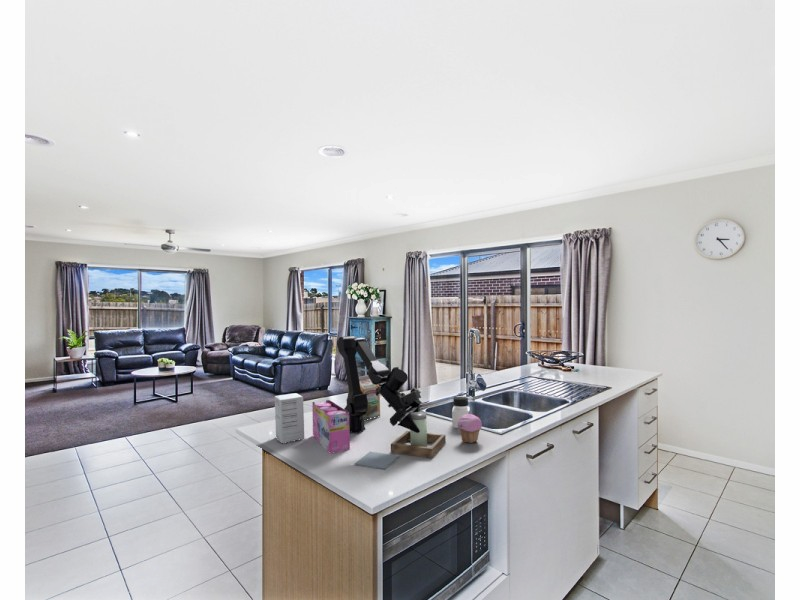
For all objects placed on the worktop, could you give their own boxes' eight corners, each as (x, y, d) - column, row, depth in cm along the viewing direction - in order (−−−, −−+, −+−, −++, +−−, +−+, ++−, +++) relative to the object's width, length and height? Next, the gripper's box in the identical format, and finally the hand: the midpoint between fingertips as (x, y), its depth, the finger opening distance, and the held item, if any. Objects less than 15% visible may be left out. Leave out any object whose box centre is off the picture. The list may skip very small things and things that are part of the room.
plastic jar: (408, 449, 142) (407, 415, 143) (414, 443, 148) (413, 411, 148) (424, 451, 140) (423, 417, 140) (429, 445, 146) (428, 412, 146)
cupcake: (468, 436, 155) (467, 410, 155) (487, 441, 149) (486, 414, 149) (453, 441, 149) (452, 415, 149) (472, 447, 143) (471, 419, 143)
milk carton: (366, 412, 193) (365, 373, 193) (380, 416, 185) (379, 375, 186) (348, 417, 186) (347, 376, 186) (362, 421, 178) (360, 379, 178)
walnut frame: (390, 452, 140) (390, 443, 140) (407, 438, 154) (407, 430, 154) (432, 457, 134) (432, 449, 134) (445, 442, 148) (445, 434, 148)
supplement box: (305, 439, 156) (303, 396, 156) (281, 444, 152) (280, 400, 152) (298, 433, 165) (296, 392, 165) (275, 437, 160) (274, 395, 160)
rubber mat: (354, 464, 130) (354, 463, 130) (369, 453, 140) (369, 451, 140) (384, 469, 126) (384, 467, 126) (398, 456, 136) (398, 455, 136)
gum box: (311, 435, 162) (310, 401, 162) (330, 431, 166) (329, 398, 166) (329, 453, 141) (328, 415, 141) (350, 449, 144) (349, 411, 145)
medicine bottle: (469, 428, 164) (468, 399, 164) (452, 427, 166) (451, 398, 166) (470, 423, 171) (469, 395, 171) (453, 422, 173) (452, 395, 173)
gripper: (396, 387, 137) (428, 422, 133) (416, 377, 154) (444, 408, 150) (377, 408, 140) (407, 443, 136) (398, 396, 157) (425, 427, 153)
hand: (422, 429), depth 144 cm, fingers closed on plastic jar, 6 cm apart
